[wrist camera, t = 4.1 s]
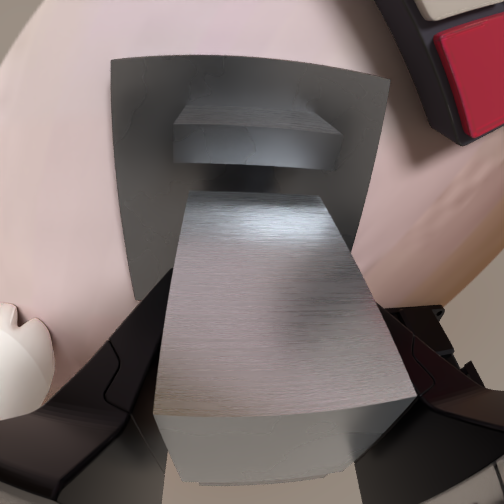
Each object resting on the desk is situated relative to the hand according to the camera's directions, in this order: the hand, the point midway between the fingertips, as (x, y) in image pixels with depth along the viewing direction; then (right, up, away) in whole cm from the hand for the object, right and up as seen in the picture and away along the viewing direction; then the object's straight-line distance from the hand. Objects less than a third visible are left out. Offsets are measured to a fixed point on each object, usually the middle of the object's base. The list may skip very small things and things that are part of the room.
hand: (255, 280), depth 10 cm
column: (0, +1, +2) cm, 2 cm away
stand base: (0, +4, +5) cm, 6 cm away
